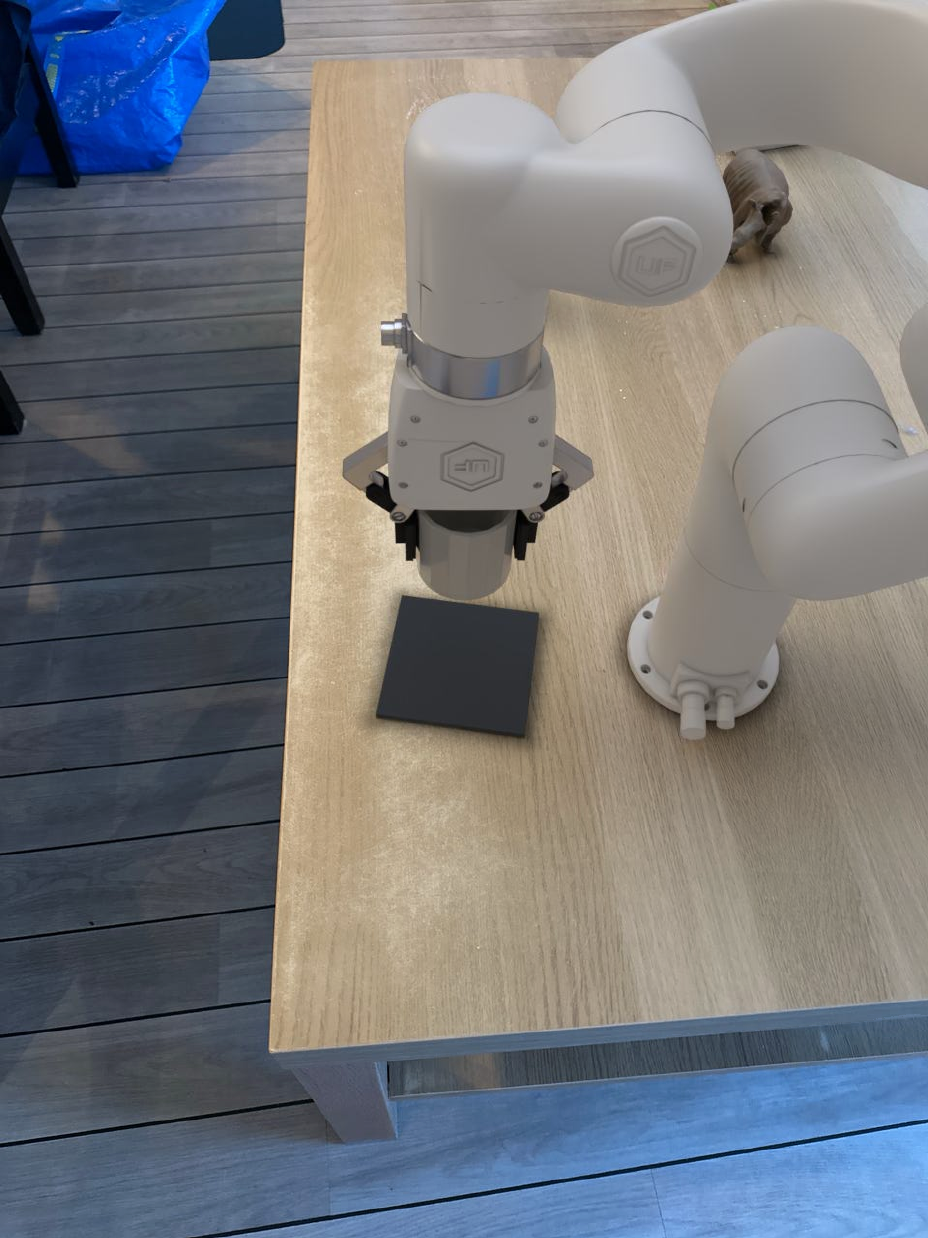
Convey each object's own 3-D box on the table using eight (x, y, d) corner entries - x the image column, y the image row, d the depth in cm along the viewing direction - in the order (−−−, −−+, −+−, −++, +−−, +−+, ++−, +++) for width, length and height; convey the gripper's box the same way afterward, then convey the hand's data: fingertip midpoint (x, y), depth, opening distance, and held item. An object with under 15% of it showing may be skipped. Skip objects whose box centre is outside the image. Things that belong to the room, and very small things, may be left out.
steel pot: (504, 606, 67) (511, 543, 61) (409, 593, 68) (407, 529, 62) (515, 533, 71) (523, 467, 65) (425, 521, 71) (425, 454, 66)
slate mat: (524, 738, 76) (524, 734, 76) (376, 717, 77) (375, 714, 76) (538, 616, 83) (539, 612, 83) (402, 598, 84) (401, 594, 83)
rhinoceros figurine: (781, 179, 119) (807, 117, 104) (771, 290, 119) (796, 243, 104) (717, 178, 120) (734, 116, 105) (707, 287, 120) (722, 241, 105)
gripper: (313, 386, 51) (338, 588, 65) (639, 388, 51) (592, 587, 66) (321, 297, 55) (343, 505, 69) (622, 299, 56) (581, 505, 70)
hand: (464, 543), depth 68 cm, fingers closed on steel pot, 7 cm apart
